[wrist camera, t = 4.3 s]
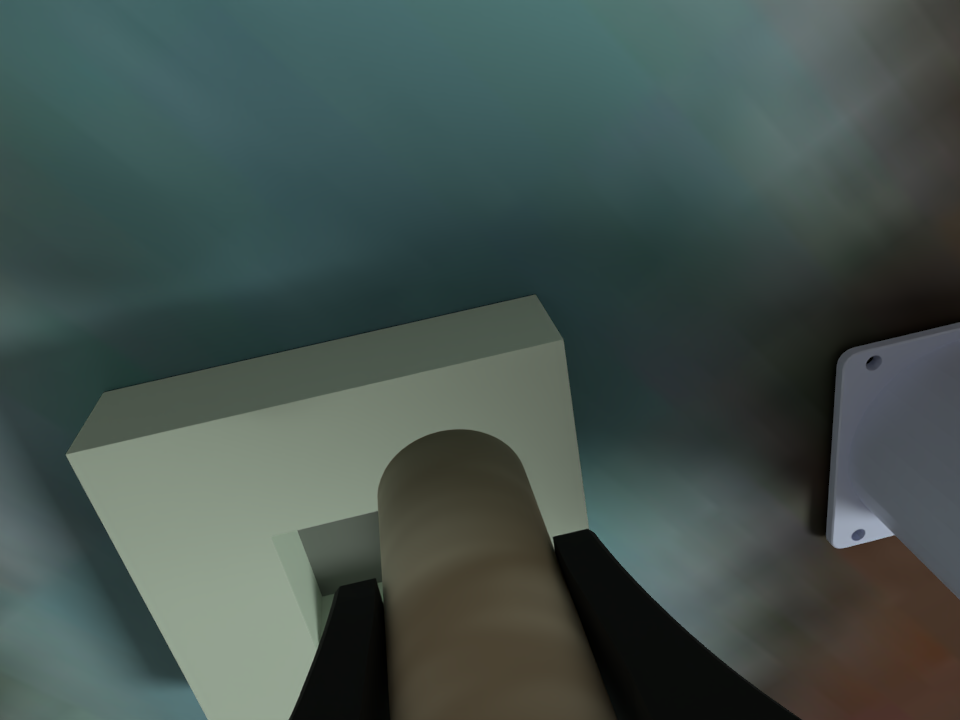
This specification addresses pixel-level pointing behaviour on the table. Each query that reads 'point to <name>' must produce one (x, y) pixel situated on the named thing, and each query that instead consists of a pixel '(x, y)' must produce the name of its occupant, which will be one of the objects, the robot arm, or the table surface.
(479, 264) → the table surface
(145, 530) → the block
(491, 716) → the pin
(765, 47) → the table surface
